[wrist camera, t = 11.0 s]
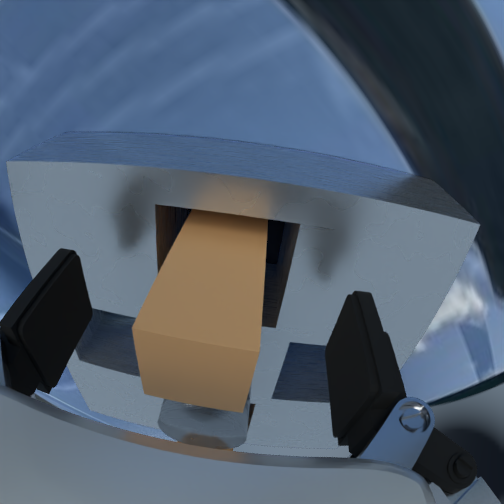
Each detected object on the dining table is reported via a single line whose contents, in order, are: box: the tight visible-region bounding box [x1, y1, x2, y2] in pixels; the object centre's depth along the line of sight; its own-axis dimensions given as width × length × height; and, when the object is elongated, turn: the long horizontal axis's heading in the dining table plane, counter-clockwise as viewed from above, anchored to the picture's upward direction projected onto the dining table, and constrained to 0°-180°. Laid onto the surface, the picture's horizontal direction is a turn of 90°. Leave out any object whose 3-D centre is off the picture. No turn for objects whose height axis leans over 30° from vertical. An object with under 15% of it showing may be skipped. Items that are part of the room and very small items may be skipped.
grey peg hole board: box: [6, 132, 480, 450], centre depth 16 cm, size 20×20×9 cm
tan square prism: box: [132, 209, 268, 413], centre depth 13 cm, size 3×3×10 cm
